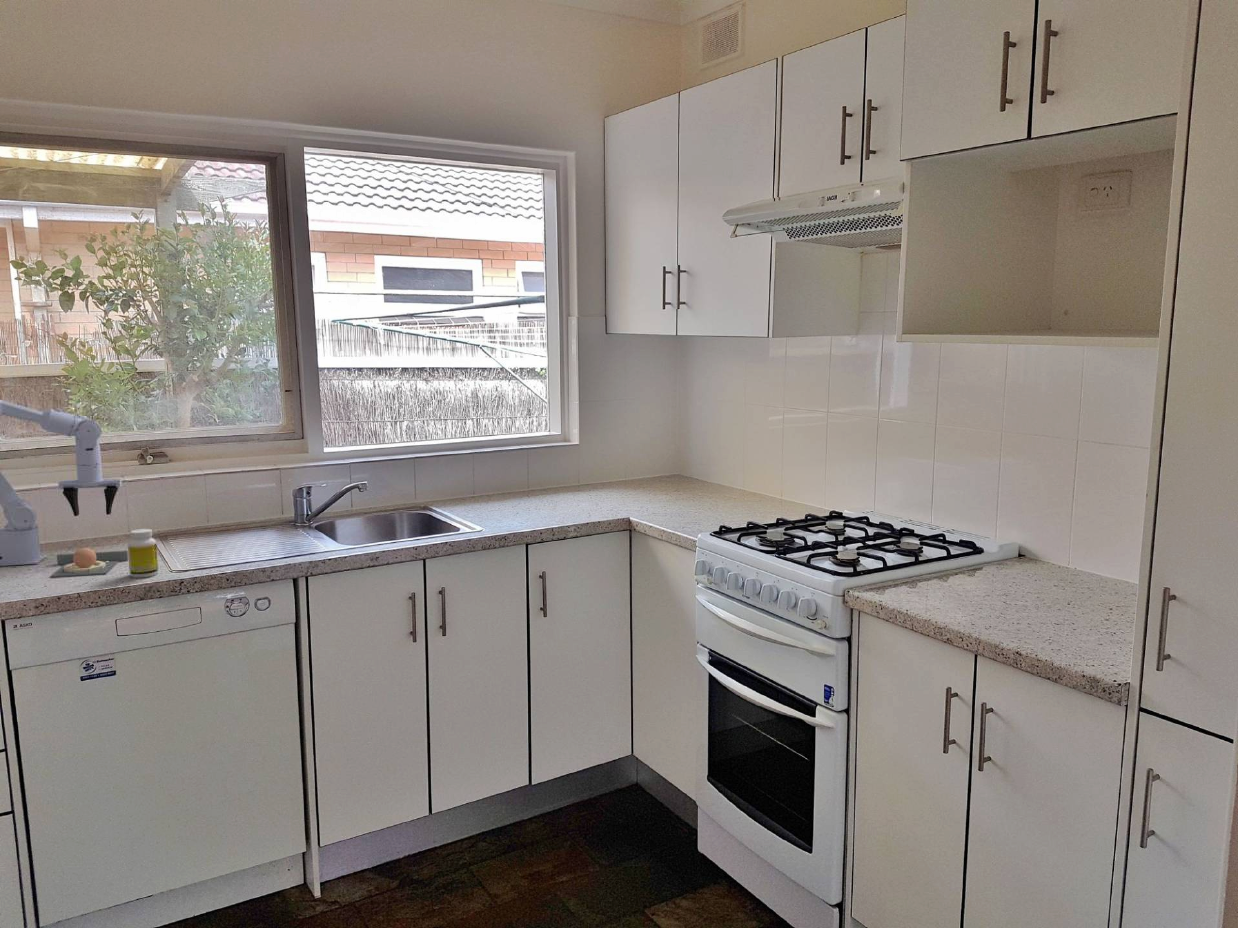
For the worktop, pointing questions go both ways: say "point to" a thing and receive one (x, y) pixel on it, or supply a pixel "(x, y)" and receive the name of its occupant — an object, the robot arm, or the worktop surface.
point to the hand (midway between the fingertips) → (92, 514)
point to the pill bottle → (142, 554)
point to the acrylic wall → (99, 557)
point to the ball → (84, 558)
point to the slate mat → (84, 569)
